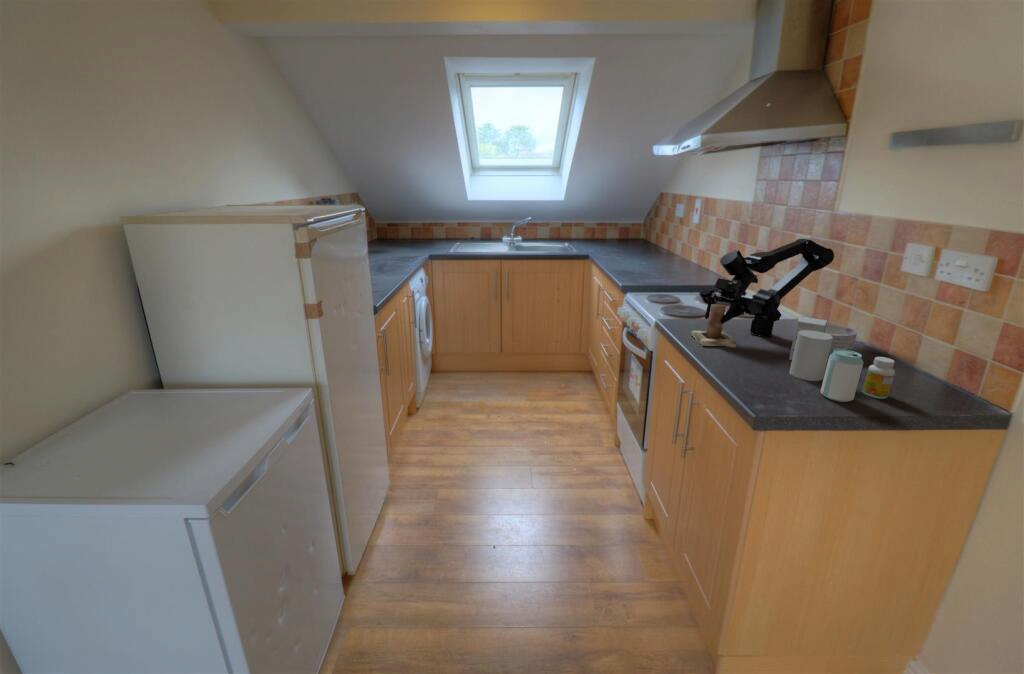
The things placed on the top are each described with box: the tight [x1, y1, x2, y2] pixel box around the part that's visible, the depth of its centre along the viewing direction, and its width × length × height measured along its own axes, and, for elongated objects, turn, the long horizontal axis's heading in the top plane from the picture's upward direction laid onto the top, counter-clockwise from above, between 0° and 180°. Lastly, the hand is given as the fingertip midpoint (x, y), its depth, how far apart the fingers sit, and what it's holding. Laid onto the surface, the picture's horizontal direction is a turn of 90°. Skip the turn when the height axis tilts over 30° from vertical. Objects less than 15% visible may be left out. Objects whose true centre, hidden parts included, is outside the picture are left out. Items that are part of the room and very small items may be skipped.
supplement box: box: [788, 316, 828, 361], centre depth 143 cm, size 7×7×13 cm
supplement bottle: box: [862, 356, 896, 400], centre depth 120 cm, size 5×5×10 cm
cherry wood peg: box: [706, 303, 727, 339], centre depth 158 cm, size 5×5×12 cm
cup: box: [789, 330, 833, 382], centre depth 131 cm, size 8×8×12 cm
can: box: [820, 349, 864, 403], centre depth 118 cm, size 7×7×12 cm
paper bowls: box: [825, 323, 858, 357], centre depth 151 cm, size 15×15×8 cm
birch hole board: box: [690, 330, 737, 348], centre depth 159 cm, size 11×11×2 cm
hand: (713, 320), depth 157 cm, fingers open, 6 cm apart
